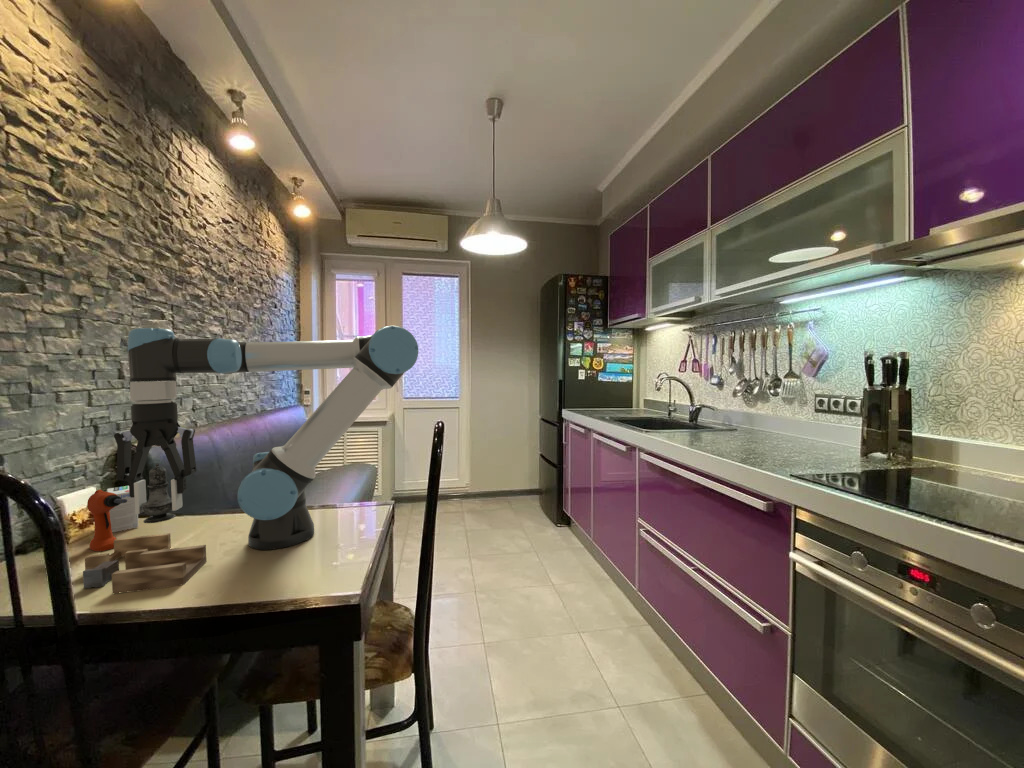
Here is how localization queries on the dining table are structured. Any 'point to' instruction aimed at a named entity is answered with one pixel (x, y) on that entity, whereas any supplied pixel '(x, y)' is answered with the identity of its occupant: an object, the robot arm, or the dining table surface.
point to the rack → (161, 569)
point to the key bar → (100, 574)
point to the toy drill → (103, 518)
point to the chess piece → (158, 497)
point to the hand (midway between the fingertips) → (159, 510)
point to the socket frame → (130, 550)
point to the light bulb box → (123, 511)
